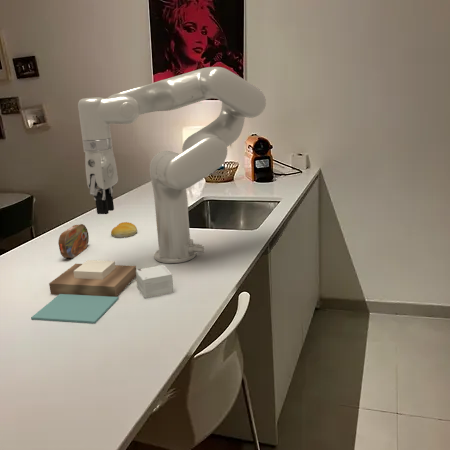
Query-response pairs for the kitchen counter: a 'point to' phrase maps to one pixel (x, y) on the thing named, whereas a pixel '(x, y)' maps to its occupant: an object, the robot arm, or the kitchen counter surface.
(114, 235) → the bread roll
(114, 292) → the board
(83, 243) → the tin
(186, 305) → the kitchen counter surface
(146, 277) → the small box
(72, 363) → the kitchen counter surface
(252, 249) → the kitchen counter surface
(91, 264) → the tile
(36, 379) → the kitchen counter surface
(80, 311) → the mat
